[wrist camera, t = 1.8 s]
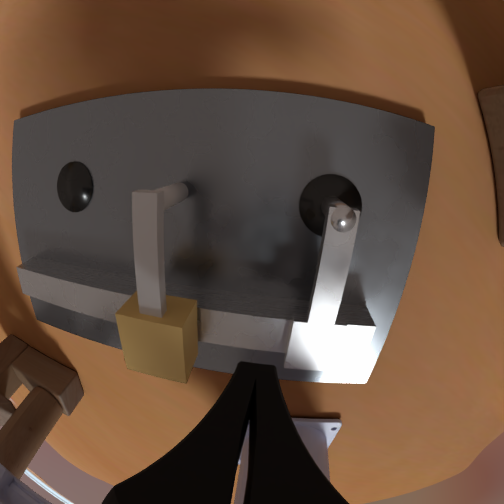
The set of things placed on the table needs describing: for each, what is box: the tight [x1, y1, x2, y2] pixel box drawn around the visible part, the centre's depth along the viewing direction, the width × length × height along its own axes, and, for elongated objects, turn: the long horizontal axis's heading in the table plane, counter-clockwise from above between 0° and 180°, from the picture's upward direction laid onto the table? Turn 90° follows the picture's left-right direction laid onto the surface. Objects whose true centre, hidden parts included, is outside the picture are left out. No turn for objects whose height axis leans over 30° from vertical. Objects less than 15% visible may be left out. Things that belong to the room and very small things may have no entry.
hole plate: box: [12, 89, 435, 383], centre depth 13 cm, size 16×26×4 cm, turn 85°
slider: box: [115, 182, 198, 384], centre depth 12 cm, size 8×3×4 cm, turn 175°
